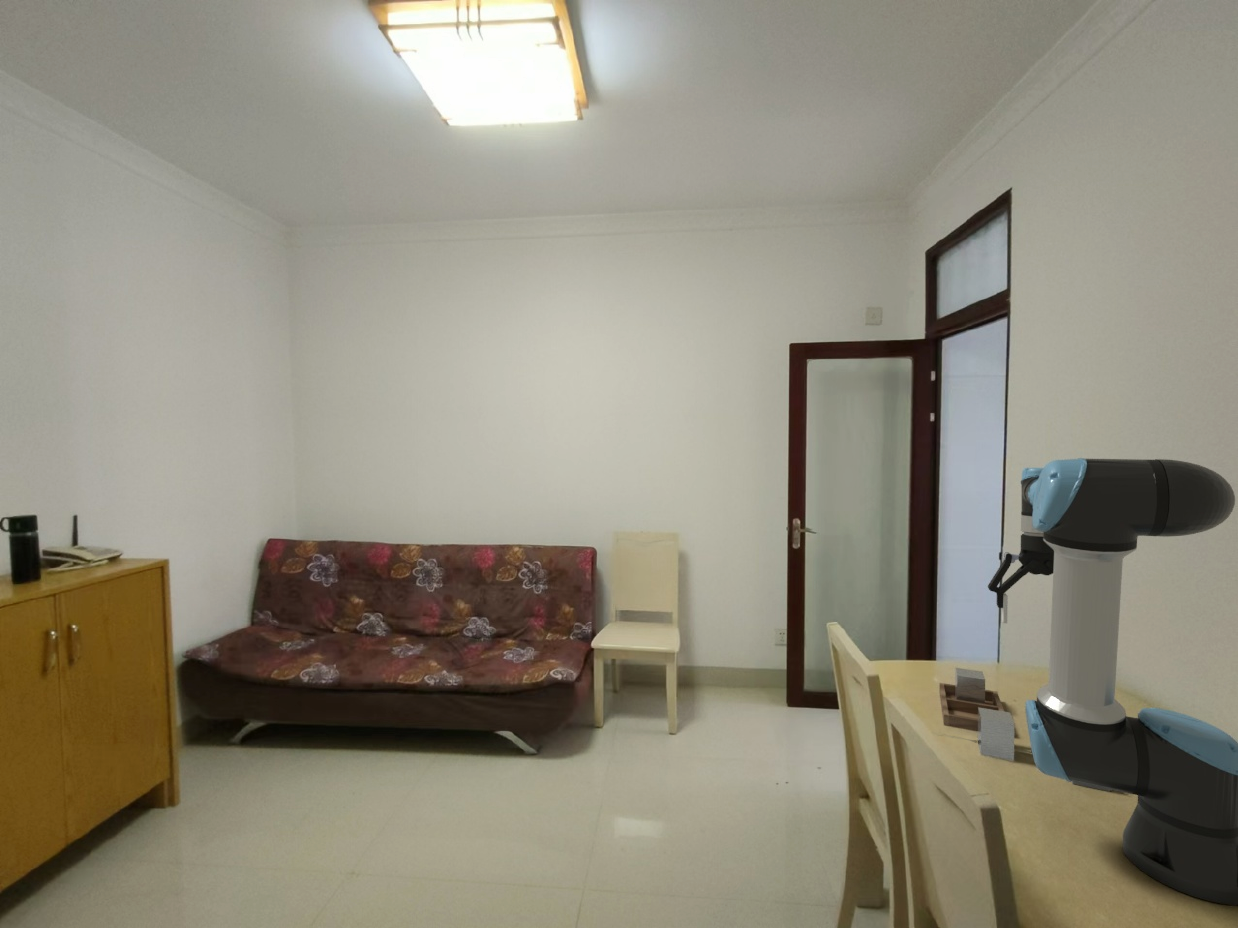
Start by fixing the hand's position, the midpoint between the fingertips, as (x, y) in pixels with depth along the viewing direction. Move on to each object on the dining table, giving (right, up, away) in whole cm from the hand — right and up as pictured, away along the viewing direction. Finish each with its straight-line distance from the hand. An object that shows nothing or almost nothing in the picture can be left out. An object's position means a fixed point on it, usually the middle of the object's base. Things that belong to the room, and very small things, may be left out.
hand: (1039, 625), depth 135 cm
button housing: (-4, -26, -19) cm, 32 cm away
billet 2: (-15, -25, -8) cm, 31 cm away
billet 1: (-8, -24, +13) cm, 28 cm away
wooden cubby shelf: (-10, -25, +9) cm, 28 cm away
